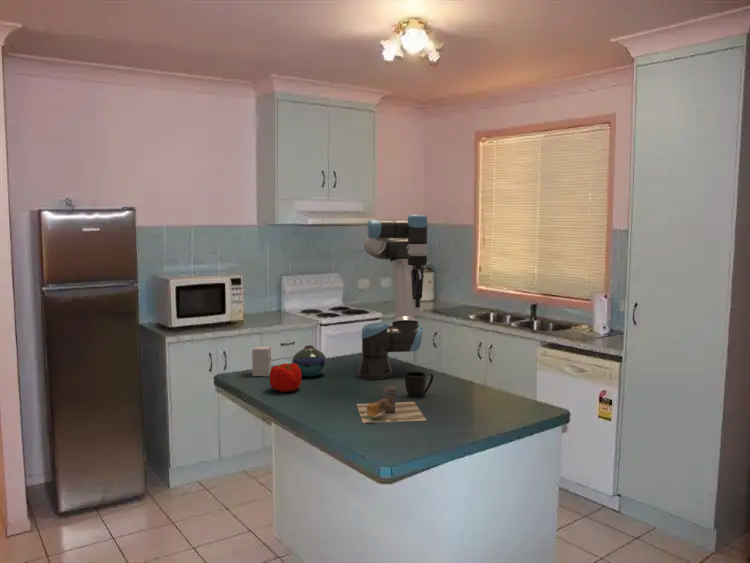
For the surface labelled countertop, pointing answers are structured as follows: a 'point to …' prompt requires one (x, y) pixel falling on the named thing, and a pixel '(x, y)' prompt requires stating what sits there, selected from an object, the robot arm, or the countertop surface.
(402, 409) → the dial board
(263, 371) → the supplement box
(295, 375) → the tomato
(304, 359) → the vase
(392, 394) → the peg lever
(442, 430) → the countertop surface
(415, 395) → the mug
